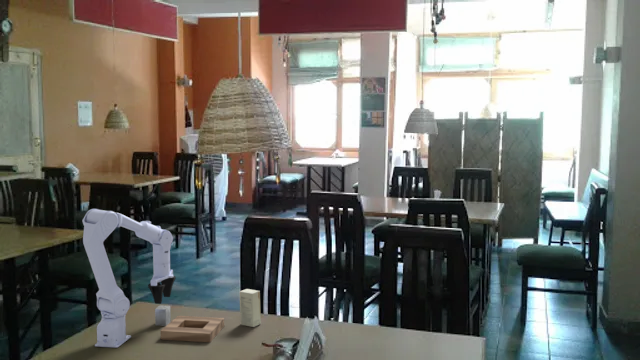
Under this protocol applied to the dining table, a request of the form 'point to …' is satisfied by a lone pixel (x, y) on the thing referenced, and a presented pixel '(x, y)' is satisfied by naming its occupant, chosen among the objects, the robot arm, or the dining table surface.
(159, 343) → the dining table surface
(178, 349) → the dining table surface
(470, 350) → the dining table surface
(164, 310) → the grey rectangular block
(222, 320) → the well block
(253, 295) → the skincare box
